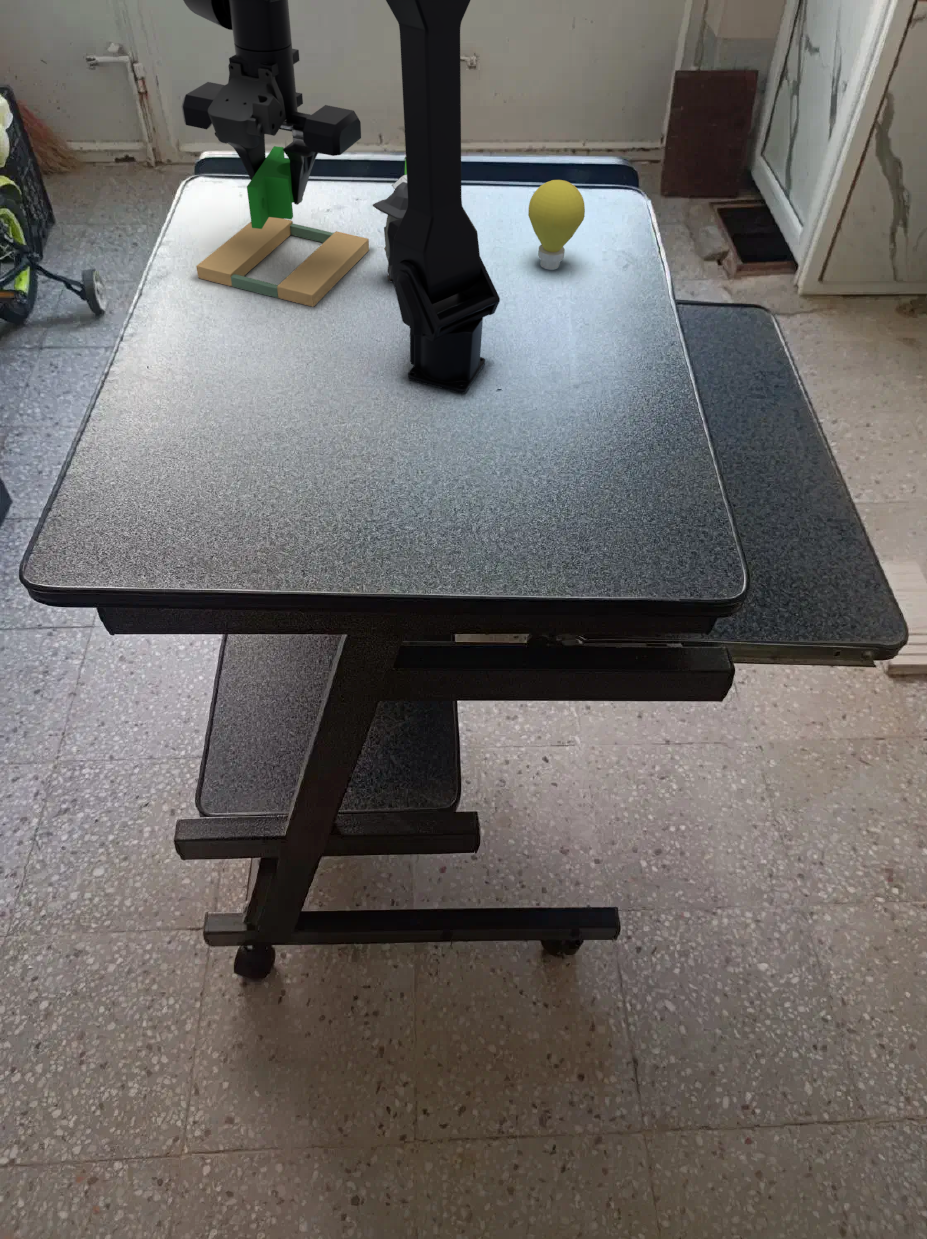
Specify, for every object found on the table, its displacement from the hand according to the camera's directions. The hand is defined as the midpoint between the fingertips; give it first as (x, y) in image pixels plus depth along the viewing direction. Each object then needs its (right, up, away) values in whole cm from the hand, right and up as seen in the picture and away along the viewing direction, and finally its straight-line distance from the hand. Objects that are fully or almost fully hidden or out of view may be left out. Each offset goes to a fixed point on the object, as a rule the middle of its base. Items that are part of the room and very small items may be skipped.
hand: (279, 199), depth 102 cm
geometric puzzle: (+15, +6, +17) cm, 23 cm away
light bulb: (+32, -4, +9) cm, 33 cm away
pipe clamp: (0, -1, +1) cm, 1 cm away
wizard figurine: (+14, -8, +4) cm, 17 cm away
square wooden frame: (0, -5, +6) cm, 8 cm away
